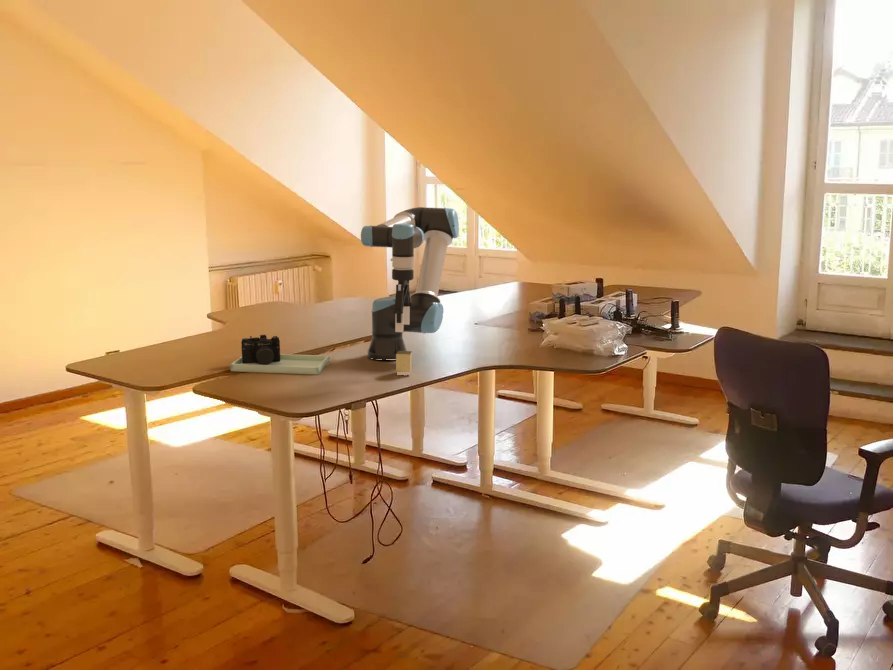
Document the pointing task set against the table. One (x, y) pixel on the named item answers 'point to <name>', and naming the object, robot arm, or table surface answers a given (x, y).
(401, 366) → the brass block
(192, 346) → the table surface
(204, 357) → the table surface
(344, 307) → the table surface
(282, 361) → the tray
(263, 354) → the camera
